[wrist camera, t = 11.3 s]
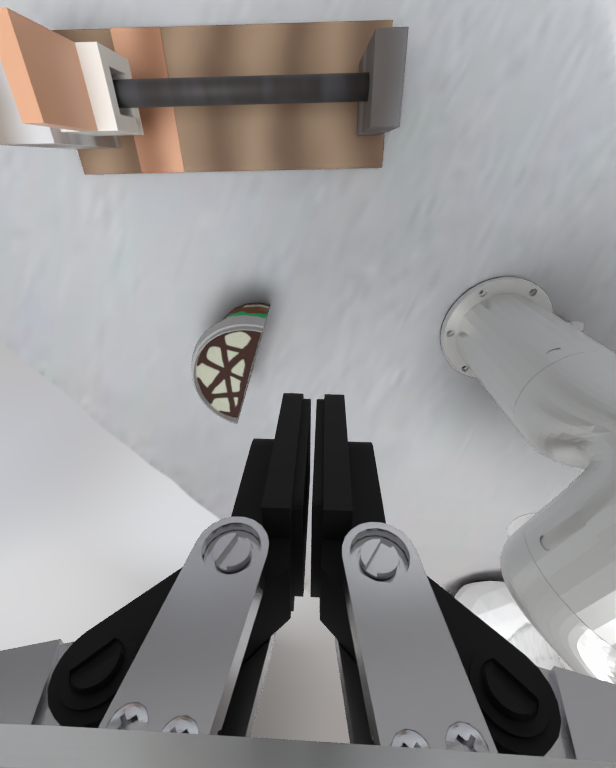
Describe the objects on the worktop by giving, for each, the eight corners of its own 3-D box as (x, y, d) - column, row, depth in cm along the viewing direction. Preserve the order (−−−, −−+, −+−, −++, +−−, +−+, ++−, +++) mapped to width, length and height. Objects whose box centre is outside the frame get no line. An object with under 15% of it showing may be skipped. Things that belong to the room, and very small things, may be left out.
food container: (220, 276, 41) (196, 306, 32) (273, 293, 42) (264, 326, 33) (202, 368, 47) (178, 413, 38) (249, 380, 48) (236, 428, 39)
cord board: (389, 26, 30) (427, -41, 20) (379, 167, 35) (405, 168, 25) (53, 36, 30) (-70, -25, 21) (92, 174, 36) (9, 178, 26)
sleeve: (128, 59, 27) (34, 6, 18) (143, 134, 29) (68, 122, 20) (74, 61, 27) (-46, 9, 18) (94, 136, 29) (-3, 124, 20)
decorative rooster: (536, 565, 68) (637, 746, 47) (519, 609, 77) (599, 781, 55) (402, 572, 70) (442, 750, 49) (399, 615, 78) (433, 784, 57)
